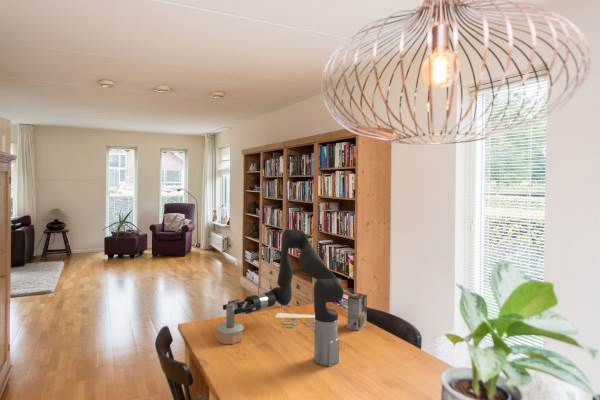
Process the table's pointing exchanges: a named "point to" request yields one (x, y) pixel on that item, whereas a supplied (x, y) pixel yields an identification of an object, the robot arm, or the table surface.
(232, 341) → the bowl
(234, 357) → the table surface
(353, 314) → the coffee box
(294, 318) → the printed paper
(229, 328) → the peg on round base
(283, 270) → the robot arm
